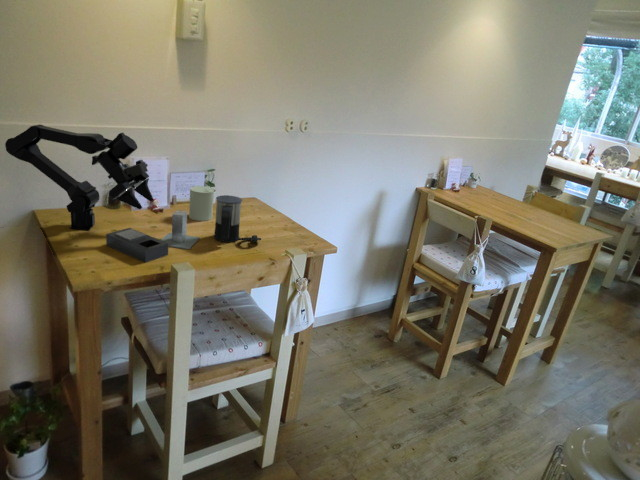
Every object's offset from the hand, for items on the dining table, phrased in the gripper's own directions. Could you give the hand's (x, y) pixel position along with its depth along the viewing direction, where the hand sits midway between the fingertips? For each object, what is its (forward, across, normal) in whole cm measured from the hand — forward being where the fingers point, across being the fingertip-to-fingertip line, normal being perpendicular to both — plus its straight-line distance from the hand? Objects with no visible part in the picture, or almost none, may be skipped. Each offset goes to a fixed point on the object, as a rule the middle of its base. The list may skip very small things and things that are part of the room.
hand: (147, 204), depth 164 cm
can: (+16, +27, +1) cm, 31 cm away
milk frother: (+29, +9, -13) cm, 33 cm away
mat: (+16, 0, 0) cm, 16 cm away
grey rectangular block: (+16, 0, 0) cm, 16 cm away
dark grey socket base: (+10, -12, +6) cm, 17 cm away
